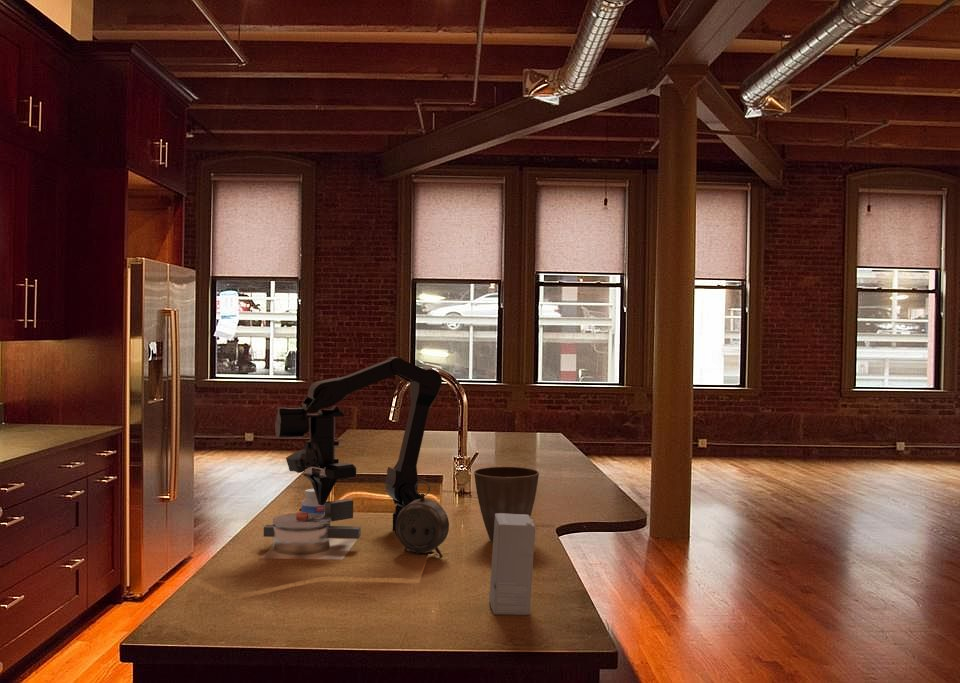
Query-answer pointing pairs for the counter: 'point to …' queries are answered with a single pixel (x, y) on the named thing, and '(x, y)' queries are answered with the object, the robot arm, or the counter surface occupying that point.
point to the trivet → (334, 553)
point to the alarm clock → (422, 525)
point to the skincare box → (512, 564)
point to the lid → (316, 516)
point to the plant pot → (505, 492)
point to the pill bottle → (311, 503)
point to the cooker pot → (308, 538)
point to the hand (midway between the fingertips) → (321, 504)
